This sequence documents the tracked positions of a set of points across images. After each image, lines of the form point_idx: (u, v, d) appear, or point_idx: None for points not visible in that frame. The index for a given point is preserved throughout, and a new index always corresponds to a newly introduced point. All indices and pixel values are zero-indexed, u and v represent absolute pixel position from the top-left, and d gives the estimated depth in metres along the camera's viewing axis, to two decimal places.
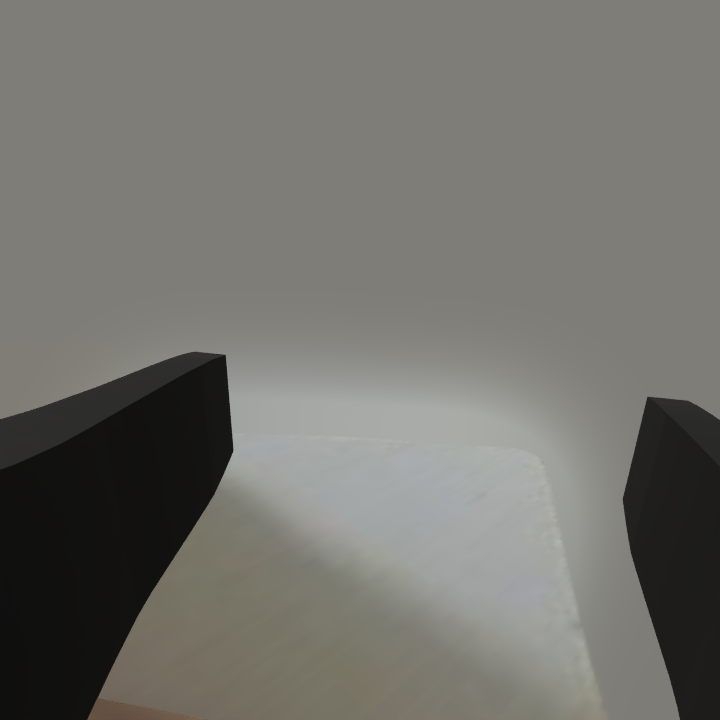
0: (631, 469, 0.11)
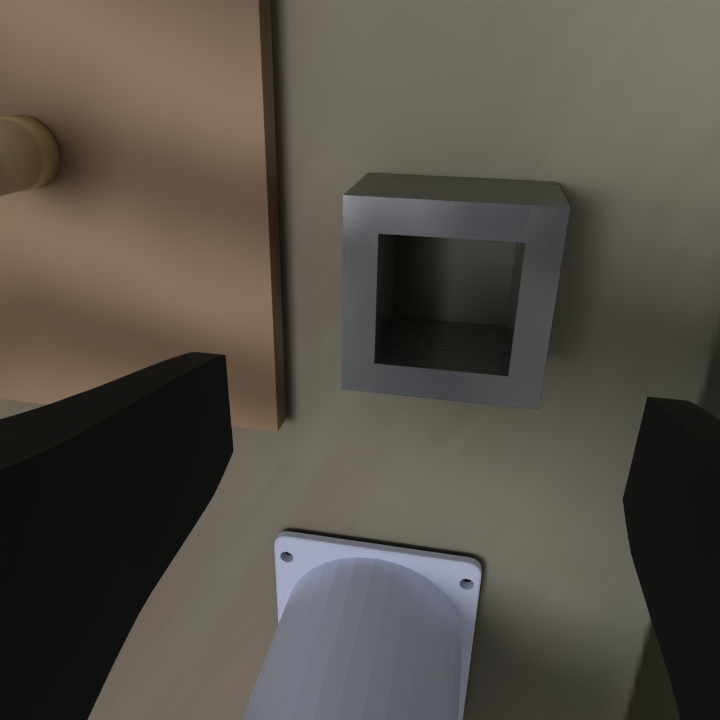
0: (631, 469, 0.11)
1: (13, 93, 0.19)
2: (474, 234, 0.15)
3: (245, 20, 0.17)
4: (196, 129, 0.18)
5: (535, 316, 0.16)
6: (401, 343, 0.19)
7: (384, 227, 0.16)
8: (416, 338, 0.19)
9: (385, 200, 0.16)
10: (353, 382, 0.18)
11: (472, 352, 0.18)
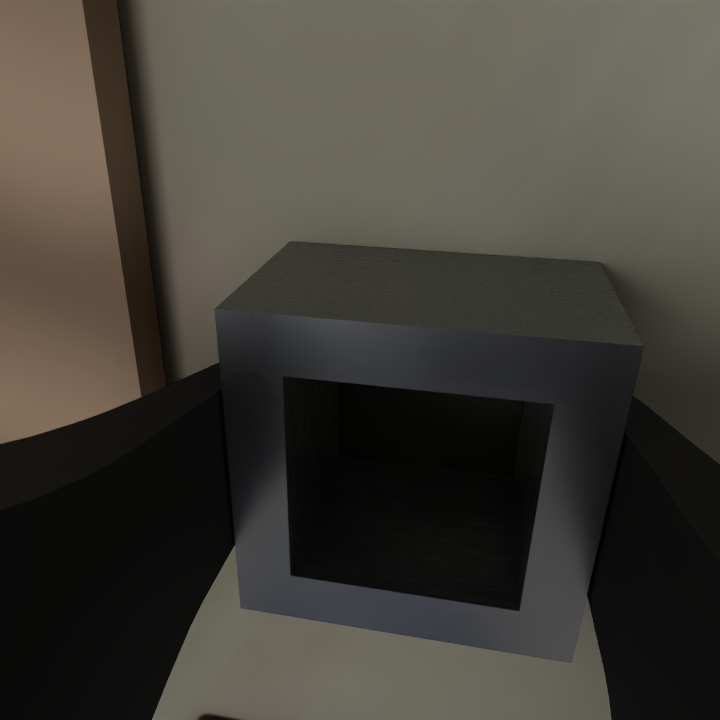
0: None
1: None
2: (458, 383, 0.08)
3: None
4: (0, 173, 0.11)
5: (570, 524, 0.09)
6: (343, 520, 0.11)
7: (292, 366, 0.09)
8: (370, 507, 0.12)
9: (291, 321, 0.08)
10: (258, 600, 0.11)
11: (459, 542, 0.11)
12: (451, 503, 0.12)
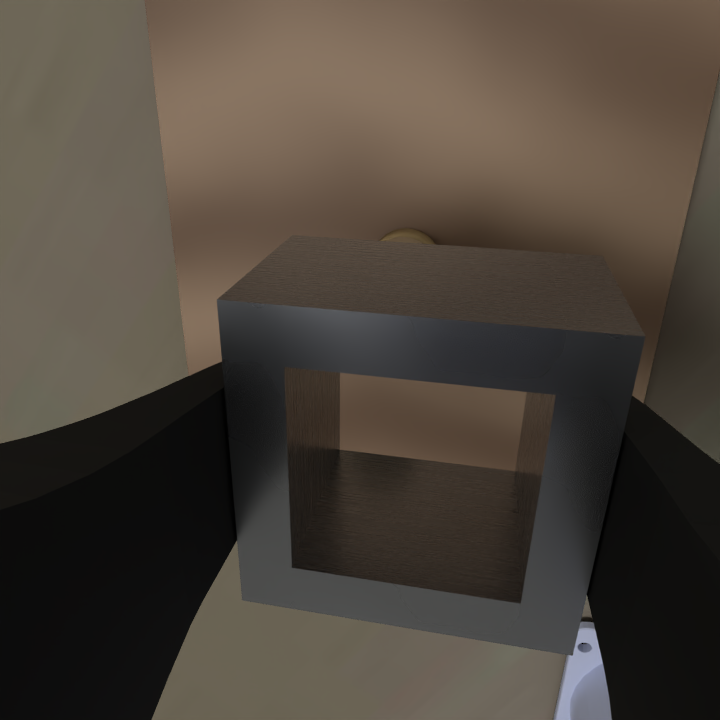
0: None
1: (403, 207, 0.18)
2: (459, 374, 0.08)
3: (686, 144, 0.16)
4: (601, 245, 0.18)
5: (572, 516, 0.09)
6: (345, 513, 0.12)
7: (294, 357, 0.09)
8: (371, 501, 0.12)
9: (292, 311, 0.08)
10: (260, 592, 0.11)
11: (461, 536, 0.11)
12: (453, 497, 0.12)
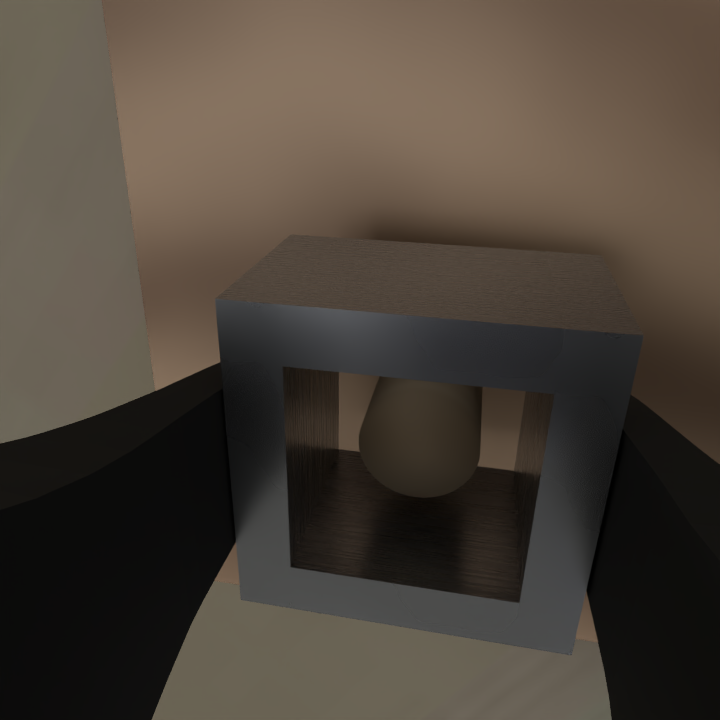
0: None
1: None
2: (458, 373, 0.08)
3: None
4: (700, 318, 0.14)
5: (570, 515, 0.09)
6: (344, 512, 0.11)
7: (292, 356, 0.09)
8: (370, 500, 0.12)
9: (291, 311, 0.08)
10: (258, 591, 0.11)
11: (459, 535, 0.11)
12: (452, 496, 0.12)
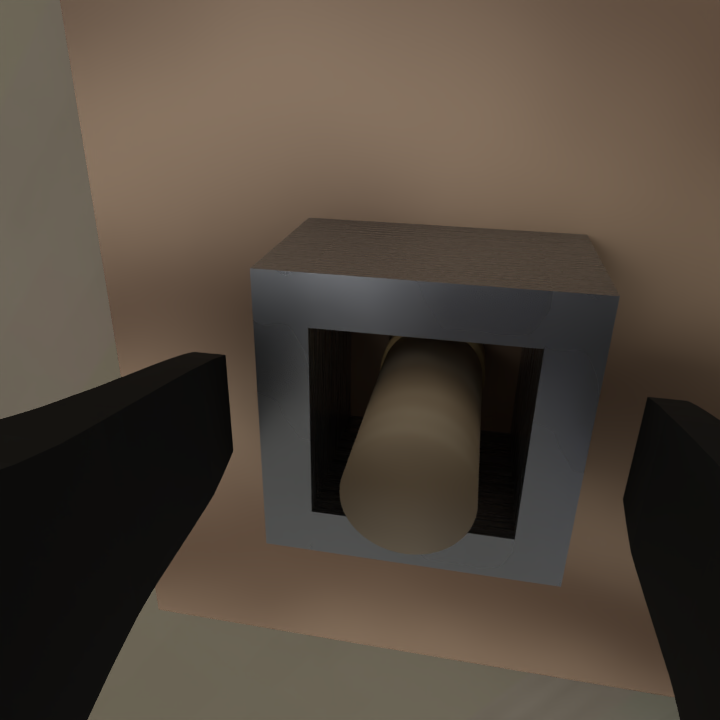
0: (631, 469, 0.11)
1: None
2: (460, 331, 0.10)
3: None
4: None
5: (558, 457, 0.10)
6: None
7: (317, 319, 0.10)
8: None
9: (316, 278, 0.10)
10: (282, 535, 0.12)
11: None
12: None
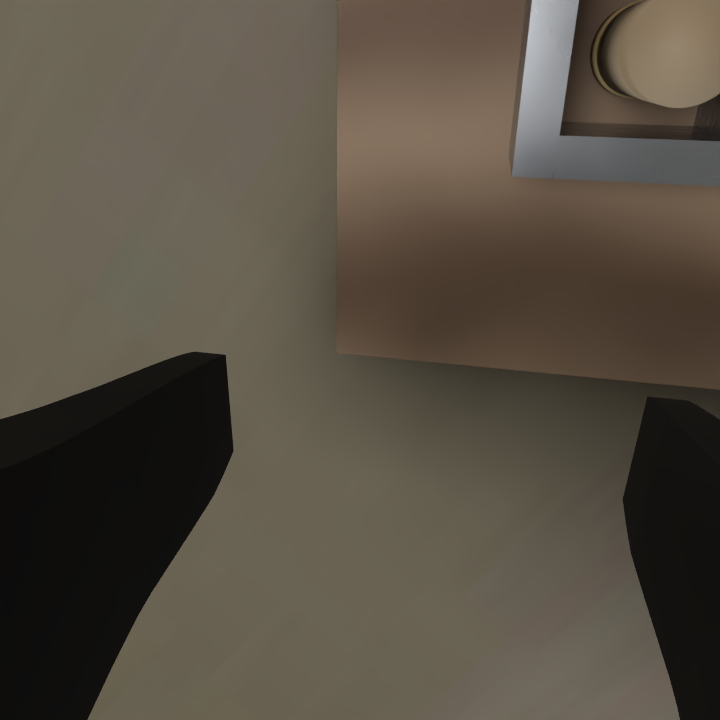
0: (631, 469, 0.11)
1: None
2: None
3: None
4: None
5: None
6: (578, 129, 0.15)
7: None
8: (593, 128, 0.15)
9: None
10: (528, 166, 0.14)
11: (674, 133, 0.14)
12: (654, 129, 0.15)
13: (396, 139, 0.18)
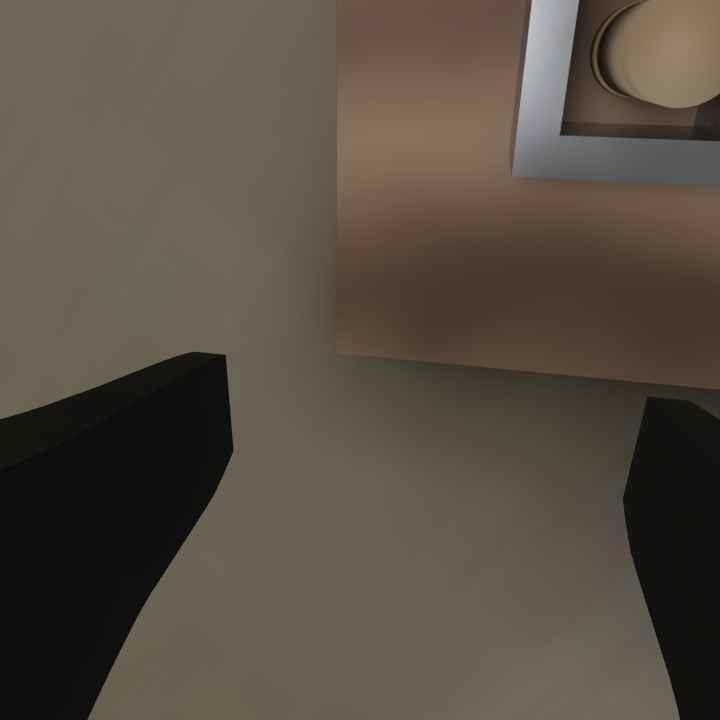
0: (631, 469, 0.11)
1: None
2: None
3: None
4: None
5: None
6: (578, 129, 0.15)
7: None
8: (593, 128, 0.15)
9: None
10: (528, 166, 0.14)
11: (674, 133, 0.14)
12: (654, 129, 0.15)
13: (396, 139, 0.18)
